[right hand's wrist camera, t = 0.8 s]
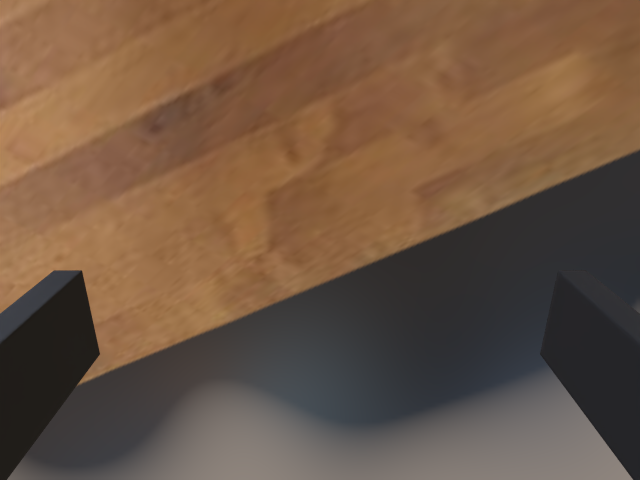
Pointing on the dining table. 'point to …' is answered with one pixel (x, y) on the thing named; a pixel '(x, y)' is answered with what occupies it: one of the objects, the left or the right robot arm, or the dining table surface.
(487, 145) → the dining table surface
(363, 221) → the dining table surface
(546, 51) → the dining table surface
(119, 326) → the dining table surface
